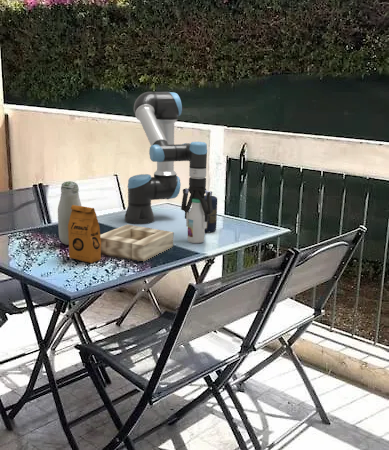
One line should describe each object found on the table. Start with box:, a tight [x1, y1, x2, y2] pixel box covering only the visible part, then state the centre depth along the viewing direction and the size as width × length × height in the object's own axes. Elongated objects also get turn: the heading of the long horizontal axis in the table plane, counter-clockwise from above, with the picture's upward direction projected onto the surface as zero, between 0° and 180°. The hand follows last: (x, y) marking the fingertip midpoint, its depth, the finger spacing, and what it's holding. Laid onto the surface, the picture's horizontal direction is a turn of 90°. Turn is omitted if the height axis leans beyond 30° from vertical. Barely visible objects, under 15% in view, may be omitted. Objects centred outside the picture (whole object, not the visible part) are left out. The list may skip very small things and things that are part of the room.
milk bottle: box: [187, 198, 206, 244], centre depth 256 cm, size 8×8×20 cm
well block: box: [100, 223, 174, 263], centre depth 243 cm, size 24×24×7 cm
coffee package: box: [68, 205, 102, 264], centre depth 227 cm, size 10×12×22 cm
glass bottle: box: [57, 181, 82, 246], centre depth 245 cm, size 10×10×28 cm
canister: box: [202, 194, 218, 233], centre depth 275 cm, size 10×10×18 cm
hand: (196, 227), depth 257 cm, fingers closed on milk bottle, 7 cm apart
